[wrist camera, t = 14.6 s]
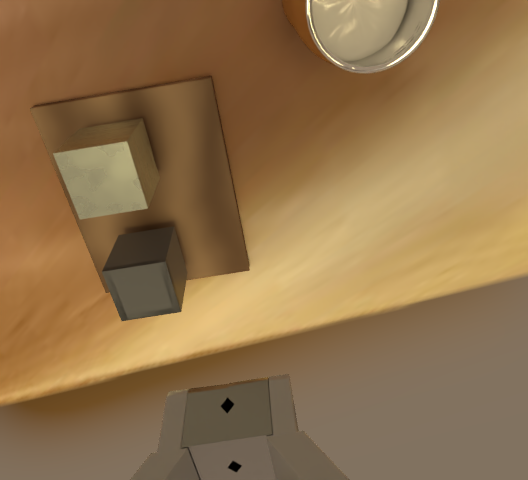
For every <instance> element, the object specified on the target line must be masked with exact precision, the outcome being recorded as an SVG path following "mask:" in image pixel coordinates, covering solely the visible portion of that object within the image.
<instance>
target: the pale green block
mask: <svg viewBox="0 0 528 480" xmlns="http://www.w3.org/2000/svg"><path fill="white" fill-rule="evenodd" d="M53 155H54V158H55V160H56V162H57V165H58V167H59V170H60V172H61V175H62V177H63V180H64V182H65V184H66V187H67V189H68V192H69V194H70V197H71V199H72V202H73V204H74V206H75V209H76V211H77V214H78V216H79V219H87V218H93V217H99V216H105V215H111V214H117V213H124V212H130V211H136V210H142V209H148V207H149V205H150V202H151V200H152V197H153V194H154V192H155V189H156V187H157V184H158V181H159V179H160V177H159V173H158V170H157V167H156V163H155V160H154V156H153V153H152V149H151V146H150V142H149V139H148V135H147V132H146V128H145V125H144V122H143V118H141V119H135V120H129V121H123V122H117V123H111V124H105V125H99V126H93V127H87V128H81V129H78V130H77V131H76V132H75V133H74V134H73V135H72V136H71V137H70V138H69V139H68V140H67V141H66V142H65V143H64V144H62V145H61V146H60V147H59V148H58V149H57V150H56V151H55V152H54V153H53Z"/></svg>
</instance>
